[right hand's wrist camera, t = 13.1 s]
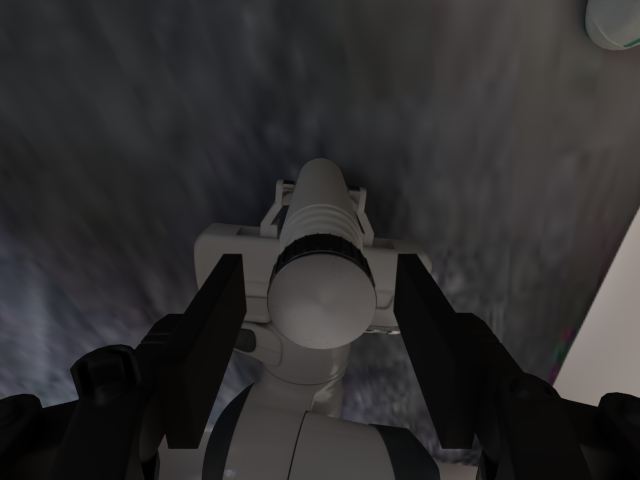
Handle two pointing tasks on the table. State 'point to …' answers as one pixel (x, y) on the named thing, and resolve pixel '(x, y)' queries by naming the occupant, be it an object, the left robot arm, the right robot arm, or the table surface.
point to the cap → (321, 292)
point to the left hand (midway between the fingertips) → (321, 184)
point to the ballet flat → (613, 23)
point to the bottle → (320, 205)
